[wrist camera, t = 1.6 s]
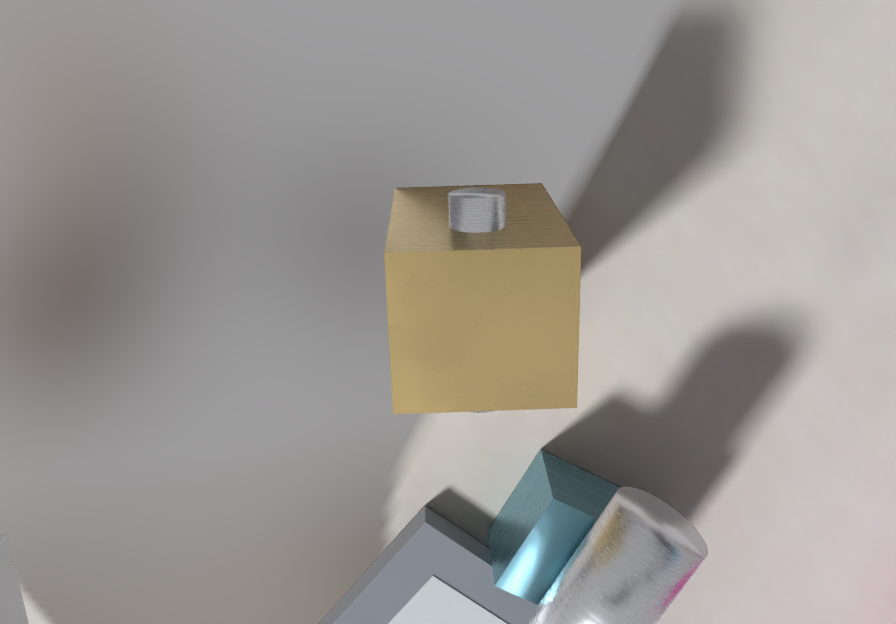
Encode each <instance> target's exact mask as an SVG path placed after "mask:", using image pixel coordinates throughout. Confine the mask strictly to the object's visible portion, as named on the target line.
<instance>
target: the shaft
mask: <svg viewBox="0 0 896 624" xmlns="http://www.w3.org/2000/svg"><path fill="white" fill-rule="evenodd" d="M488 534H489V542H490V551H491V559H492V568H493V577H494V585H495V586H496V587H499V588H501V589H503V590H505V591H508V592H510V593H512V594H514V595H517V596H519V597H521V598H524V599H526V600H528V601H530V602H533V603H535V604H537V605H538V606H537V607H536V608H535V610H534V611H533V613H532V614H531V616H530V617H529V619H528V620H527V621H526V623H525V624H656V623H657V621H658V620H659V619H660V617H661V616H662V615H663V613H664V612H665V611H666V609H667V608H668V607H669V605H670V604H671V603H672V601H673V600H674V599H675V597H676V596H677V595H678V593H679V592H680V591H681V590H682V588H683V587H684V586H685V584H686V583H687V582H688V580H689V579H690V578H691V576H692V575H693V574H694V572H695V571H696V570H697V568H698V567H699V566H700V564H701V563H702V562H703V560H704V559H705V558H706V556H707V554H708V549H707V545H706V543H705V541H704V539H703V538H702V536H701V535H700V533H699V532H698V531H697V530H696V528H695V527H694V526H693V525H692V524H691V523H690V522H689V521H688V520H687V519H686V518H685V517H684V516H682V515H681V514H680V513H679V512H678V511H676V510H675V509H674V508H672V507H671V506H670V505H668V504H667V503H665V502H664V501H662V500H661V499H659V498H657V497H655V496H654V495H652V494H650V493H647V492H645V491H643V490H640V489H637V488H633V487H619V486H616V485H614V484H612V483H610V482H608V481H606V480H604V479H602V478H600V477H598V476H596V475H593V474H591V473H589V472H587V471H585V470H583V469H581V468H579V467H577V466H575V465H573V464H570V463H568V462H566V461H564V460H562V459H560V458H558V457H556V456H554V455H552V454H550V453H548V452H545V451H543V450H540V451H539V453H538V454H537V456H536V457H535V459H534V460H533V462H532V463H531V465H530V467H529V468H528V470H527V471H526V473H525V474H524V476H523V477H522V479H521V480H520V482H519V483H518V485H517V487H516V488H515V490H514V491H513V493H512V494H511V496H510V497H509V499H508V500H507V502H506V504H505V505H504V507H503V508H502V510H501V511H500V513H499V514H498V516H497V517H496V519H495V520H494V522H493V524H492V525H491V527H490V528H489V530H488Z"/></svg>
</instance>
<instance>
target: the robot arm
mask: <svg viewBox="0 0 896 624" xmlns="http://www.w3.org/2000/svg"><path fill="white" fill-rule="evenodd" d="M0 624H29V623H28V619H27V615H26V610H25V606H24V602H23V598H22V594H21V590H20V586H19V581H18V577H17V573H16V569H15V565H14V561H13V557H12V553H11V548H10V544H9V540H8V536H7V534H0Z"/></svg>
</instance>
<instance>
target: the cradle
mask: <svg viewBox="0 0 896 624" xmlns="http://www.w3.org/2000/svg"><path fill="white" fill-rule="evenodd" d="M537 606H538V605H537V604H535V603H533V602H530V601H528V600H526V599H524V598H521V597H519V596H517V595H514V594H512V593H510V592H508V591H505V590H503V589H501V588H499V587H496V586H495V585H494V577H493V568H492V559H491V551H490V548H488V547H487V546H485V545H484V544H482V543H481V542H479V541H478V540H476V539H475V538H473V537H472V536H470V535H469V534H467V533H466V532H464V531H463V530H461V529H460V528H458V527H457V526H455V525H454V524H452V523H451V522H449V521H448V520H446V519H445V518H443V517H442V516H440V515H439V514H437V513H436V512H434V511H433V510H431V509H430V508H428V507H427V506H424V507H423V508H422V510H421V511H420V512H419V513H418V514H417V515H416V516H415V517H414V518H413V519H412V521H411V522H410V523H409V524H408V525H407V526H406V527H405V528H404V529H403V531H402V532H401V533H400V534H399V535H398V536H397V537H396V538H395V539H394V541H393V542H392V543H391V544H390V545H389V546H388V547H387V548H386V549H385V551H384V552H383V553H382V554H381V555H380V556H379V557H378V558H377V559H376V561H375V562H374V563H373V564H372V565H371V566H370V567H369V568H368V569H367V571H366V572H365V573H364V574H363V575H362V576H361V577H360V579H358V581H357V582H356V583H355V584H354V585H353V586H352V587H351V588H350V590H349V591H348V592H347V593H346V594H345V595H344V596H343V597H342V598H341V599H340V601H339V602H338V603H337V604H336V605H335V606H334V607H333V608H332V609H331V611H330V612H329V613H328V614H327V615H326V616H325V617H324V618H323V619H322V620H321V622H320V623H319V624H525V623H526V621H527V620H528V619H529V617H530V616H531V614H532V613H533V611H534V610H535V608H536V607H537Z"/></svg>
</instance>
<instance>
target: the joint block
mask: <svg viewBox="0 0 896 624" xmlns="http://www.w3.org/2000/svg"><path fill="white" fill-rule="evenodd" d="M384 253H385V273H386V292H387V310H388V329H389V347H390V365H391V384H392V403H393V414H410V413H439V412H476V413H483V412H491V411H497V410H526V409H555V408H577V384H578V347H579V311H580V275H581V245H580V244H579V242H578V241H577V239H576V237H575V236H574V234H573V232H572V231H571V229H570V228H569V226H568V224H567V223H566V221H565V220H564V218H563V216H562V215H561V213H560V212H559V210H558V208H557V207H556V205H555V204H554V202H553V200H552V199H551V197H550V196H549V194H548V192H547V191H546V189H545V188H544V186H543V184H541V183H539V184H538V183H537V184H505V185H474V186H443V187H409V188H395V192H394V198H393V204H392V210H391V216H390V222H389V228H388V235H387V240H386V246H385V252H384Z"/></svg>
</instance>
